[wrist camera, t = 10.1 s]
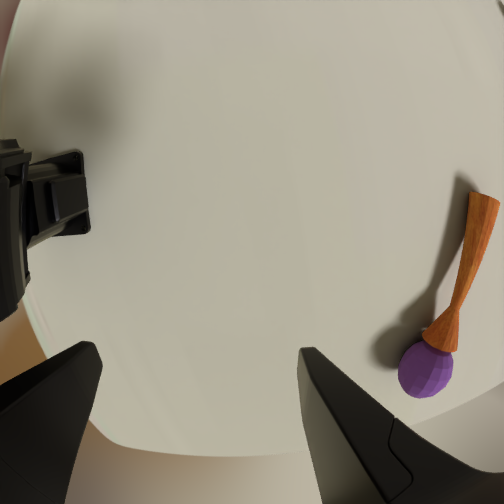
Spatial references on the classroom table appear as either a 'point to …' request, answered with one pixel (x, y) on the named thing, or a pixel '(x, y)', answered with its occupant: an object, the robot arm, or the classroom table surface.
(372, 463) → the robot arm
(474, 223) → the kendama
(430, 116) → the classroom table surface
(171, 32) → the classroom table surface
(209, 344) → the classroom table surface
